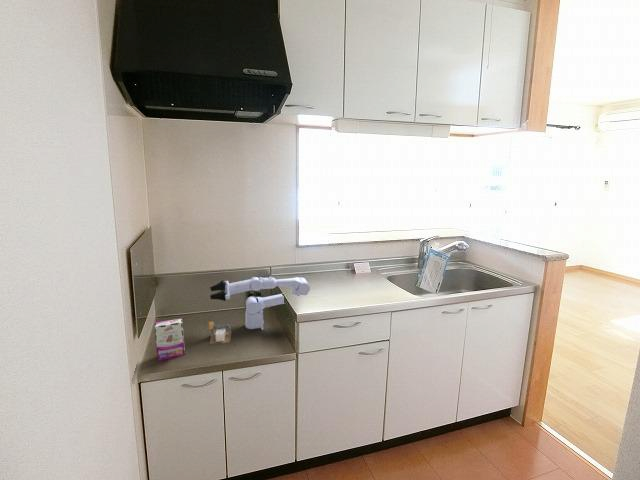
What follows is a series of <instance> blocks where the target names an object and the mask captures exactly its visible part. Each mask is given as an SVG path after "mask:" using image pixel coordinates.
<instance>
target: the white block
mask: <svg viewBox="0 0 640 480" xmlns="http://www.w3.org/2000/svg"><path fill="white" fill-rule="evenodd" d="M215 332H216V342H220V341H225V334H226V332H227V331H226V328H219V329H215Z"/></svg>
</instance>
